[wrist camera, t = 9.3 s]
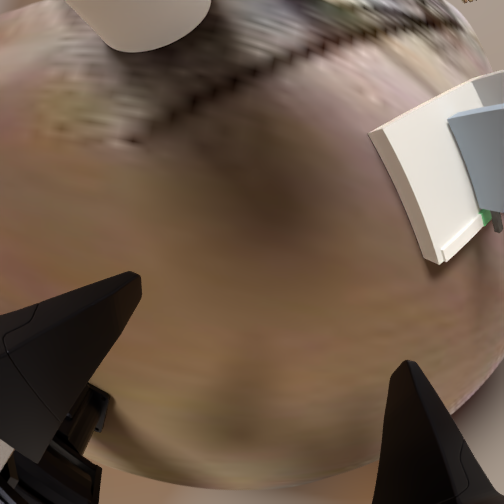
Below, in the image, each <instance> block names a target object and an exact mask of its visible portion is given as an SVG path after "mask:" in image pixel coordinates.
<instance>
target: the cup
mask: <svg viewBox="0 0 504 504" xmlns="http://www.w3.org/2000/svg"><path fill="white" fill-rule="evenodd" d="M64 1H65V2H66V3H67V4H68V5H69V6H70V7H71V8H72V9H73V10H74V11H75V12H76V13H77V14H78V15H79V16H80V17H81V18H82V19H83V20H84V21H85V22H86V23H87V24H88V25H89V26H90V27H91V28H92V29H93V30H94V31H95V32H96V33H97V34H98V36H99V37H100V38H101V39H102V40H103V41H104V42H105V43H106V44H107V45H108V46H110V47H111V48H113V49H115V50H118V51H122V52H144V51H150V50H154V49H157V48H160V47H163V46H166V45H168V44H171V43H173V42H175V41H177V40H179V39H180V38H182V37H184V36H185V35H187V34H188V33H189V32H191V31H192V30H193V29H194V28H196V27H197V26H198V25H199V24H200V23H201V21H202V20H203V19H204V18H205V16H206V14H207V13H208V11H209V8H210V4H211V0H64Z"/></svg>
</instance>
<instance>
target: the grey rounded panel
mask: <svg viewBox="0 0 504 504" xmlns="http://www.w3.org/2000/svg"><path fill="white" fill-rule="evenodd" d="M447 121H448V123H449V125H450V127H451V129H452V131H453V134H454V136H455V138H456V141H457V143H458V145H459V148H460V150H461V153H462V155H463V158H464V161H465V163H466V166H467V169H468V172H469V175H470V178H471V181H472V184H473V187H474V190H475V194H476V197H477V200H478V204H479V208H480V209H486V210H490V213H491V217H492V221H493V226H494V231H495V232H498V233H500V232H501V231H502V230H503V225H502V220H501V215H500V212H501V213H504V103H503V104H497V105H492V106H486V107H481V108H476V109H471V110H467V111H462V112H458V113H456V114H455V115H453V116H451V117H450V118H448V119H447Z"/></svg>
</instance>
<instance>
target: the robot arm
mask: <svg viewBox="0 0 504 504" xmlns="http://www.w3.org/2000/svg"><path fill="white" fill-rule="evenodd" d="M141 297H142V286H141V277H140V275H139V274H136V273H134V272H132V271H127V272H124V273H121V274H119V275H116V276H113V277H110V278H107V279H104V280H101V281H98V282H95V283H93V284H90V285H87V286H84V287H81V288H78V289H76V290H73V291H70V292H67V293H64V294H62V295H59V296H56V297H53V298H50V299H48V300H45V301H42V302H40V303H37V304H34V305H31V306H28V307H26V308H23V309H20V310H17V311H14V312H10V313H7V314H3V315H0V504H98V503H99V491H100V483H101V474H102V468H101V467H99V466H98V465H95V464H93V463H92V462H90V461H89V460H87V459H86V458H85V457H83V454H84V451H85V449H86V447H87V445H88V442H89V440H90V438H91V436H92V434H93V431H96V432H101V431H102V429H103V425H104V420H105V416H106V412H107V408H108V404H109V400H110V396H109V395H108V394H107V393H105V392H103V391H102V390H100V389H98V388H96V387H94V386H92V385H90V384H89V383H88V381H89V380H90V378H91V377H92V375H93V374H94V372H95V371H96V369H97V368H98V366H99V365H100V363H101V362H102V360H103V359H104V358H105V356H106V355H107V353H108V352H109V350H110V349H111V348H112V346H113V345H114V343H115V342H116V340H117V339H118V338H119V336H120V335H121V333H122V331H123V330H124V328H125V326H126V324H127V322H128V321H129V319H130V317H131V315H132V314H133V312H134V310H135V308H136V307H137V305H138V303H139V302H140V300H141ZM372 504H504V496H503V495H501V494H500V493H498V492H497V491H496V490H495V489H494V487H493V486H492V484H491V483H490V481H489V479H488V478H487V476H486V474H485V473H484V471H483V470H482V468H481V467H480V465H479V464H478V462H477V460H476V459H475V457H474V455H473V453H472V452H471V450H470V448H469V447H468V445H467V443H466V441H465V439H463V436H462V434H461V432H460V431H459V429H458V427H457V425H456V424H455V422H454V420H453V419H452V417H451V415H450V414H449V412H448V410H447V409H446V407H445V406H444V404H443V402H442V401H441V399H440V398H439V396H438V394H437V393H436V391H435V390H434V388H433V387H432V385H431V384H430V382H429V381H428V379H427V377H426V376H425V374H424V373H423V371H422V370H421V369H420V367H419V366H418V364H417V363H416V362H414V361H410V360H405V361H403V362H402V363H401V365H400V366H399V367H398V368H397V369H396V370H395V371H394V373H393V374H392V375H391V378H390V382H389V390H388V397H387V403H386V409H385V415H384V423H383V434H382V444H381V453H380V460H379V467H378V474H377V480H376V486H375V491H374V496H373V501H372Z"/></svg>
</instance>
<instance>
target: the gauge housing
mask: <svg viewBox="0 0 504 504" xmlns="http://www.w3.org/2000/svg"><path fill="white" fill-rule="evenodd" d="M503 103H504V69H503V70H500V71H496V72H493V73H489V74H485V75H481V76H478V77H475V78H472V79H470V80H468V81H466V82H464V83H462V84H460V85H458V86H456V87H454V88H452V89H450V90H448V91H446V92H444V93H442V94H440V95H438V96H436V97H434V98H432V99H430V100H428V101H426V102H424V103H422V104H420V105H419V106H417V107H415V108H413V109H411V110H409V111H407V112H405V113H404V114H402V115H400V116H398V117H396V118H394V119H393V120H391V121H389V122H387V123H385V124H383V125H382V126H380V127H378V128H376V129H375V130H373V131H371V132H369V133H367V134H368V135H369V137H370V139H371V141H372V142H373V144H374V146H375V148H376V150H377V152H378V153H379V155H380V157H381V159H382V161H383V163H384V165H385V167H386V169H387V171H388V173H389V175H390V177H391V179H392V181H393V183H394V185H395V188H396V190H397V192H398V194H399V196H400V199H401V201H402V203H403V206H404V208H405V210H406V213H407V215H408V217H409V220H410V222H411V225H412V228H413V230H414V233H415V235H416V238H417V241H418V243H419V246H420V249H421V252H422V255H423V258H425V259H427V260H429V261H432V262H434V263H436V264H438V265H440V264H441V263H442V262H443V261H445V262H447V261H448V260H449V259H450V258H452V257H453V256H454V255H455V254H456V253H457V252H458V251H459V250H460V249H461V248H462V247H463V246H464V245H465V244H466V243H467V242H468V241H469V240H470V239H471V238H472V237H473V236H474V235H475V234H476V233H477V232H478V231H479V230H480V229H481V228H482V227H483V226H486V225H487V224H488V222H489V221H490V220H491V219H492V217H491V213H490V210H486V209H480V208H479V204H478V200H477V197H476V194H475V190H474V187H473V184H472V181H471V178H470V175H469V172H468V169H467V166H466V163H465V161H464V158H463V155H462V153H461V150H460V148H459V145H458V143H457V141H456V138H455V136H454V134H453V131H452V129H451V127H450V125H449V123H448V121H447V119H448V118H450V117H451V116H453V115H455V114H456V113H458V112H462V111H467V110H471V109H476V108H481V107H486V106H492V105H497V104H503Z"/></svg>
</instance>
